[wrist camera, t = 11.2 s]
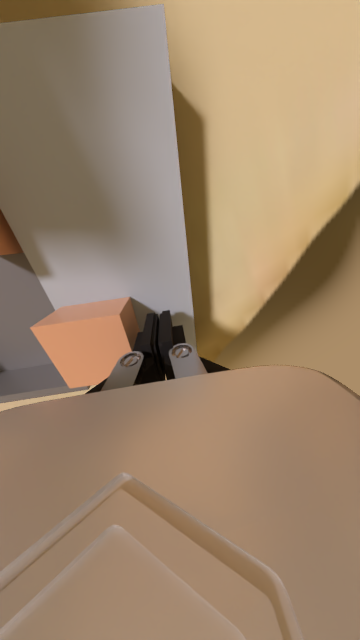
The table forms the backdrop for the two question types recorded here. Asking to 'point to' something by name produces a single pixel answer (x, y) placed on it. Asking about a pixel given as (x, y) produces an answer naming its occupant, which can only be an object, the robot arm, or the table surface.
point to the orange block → (8, 238)
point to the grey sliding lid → (95, 160)
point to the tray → (24, 335)
